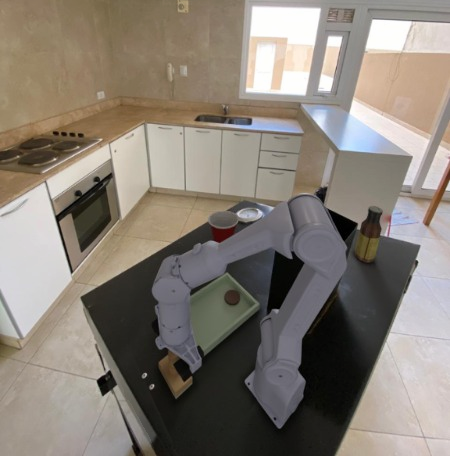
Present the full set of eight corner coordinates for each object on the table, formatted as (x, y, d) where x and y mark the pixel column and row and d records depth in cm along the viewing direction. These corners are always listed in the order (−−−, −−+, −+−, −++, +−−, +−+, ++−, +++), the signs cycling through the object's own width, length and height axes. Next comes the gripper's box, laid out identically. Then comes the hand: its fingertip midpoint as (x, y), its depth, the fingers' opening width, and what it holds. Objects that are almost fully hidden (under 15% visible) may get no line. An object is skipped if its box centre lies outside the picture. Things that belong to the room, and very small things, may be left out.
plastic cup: (223, 231, 99) (224, 205, 95) (243, 246, 92) (245, 219, 87) (201, 244, 92) (201, 216, 88) (220, 261, 85) (222, 232, 80)
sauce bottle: (374, 255, 90) (389, 208, 83) (372, 266, 85) (389, 217, 78) (354, 248, 94) (367, 201, 86) (351, 258, 89) (365, 210, 81)
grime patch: (243, 300, 71) (243, 298, 71) (231, 308, 68) (231, 306, 68) (233, 289, 74) (233, 287, 74) (221, 296, 72) (221, 294, 71)
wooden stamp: (192, 384, 53) (192, 358, 50) (175, 400, 50) (174, 374, 47) (175, 356, 58) (173, 331, 54) (159, 369, 55) (156, 343, 52)
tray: (259, 310, 69) (259, 303, 68) (192, 367, 56) (192, 360, 55) (226, 278, 78) (227, 272, 77) (163, 320, 65) (162, 313, 64)
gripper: (139, 299, 50) (144, 344, 55) (176, 363, 40) (178, 411, 45) (170, 281, 54) (173, 324, 59) (211, 334, 44) (210, 381, 49)
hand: (177, 360), depth 52 cm, fingers open, 7 cm apart
